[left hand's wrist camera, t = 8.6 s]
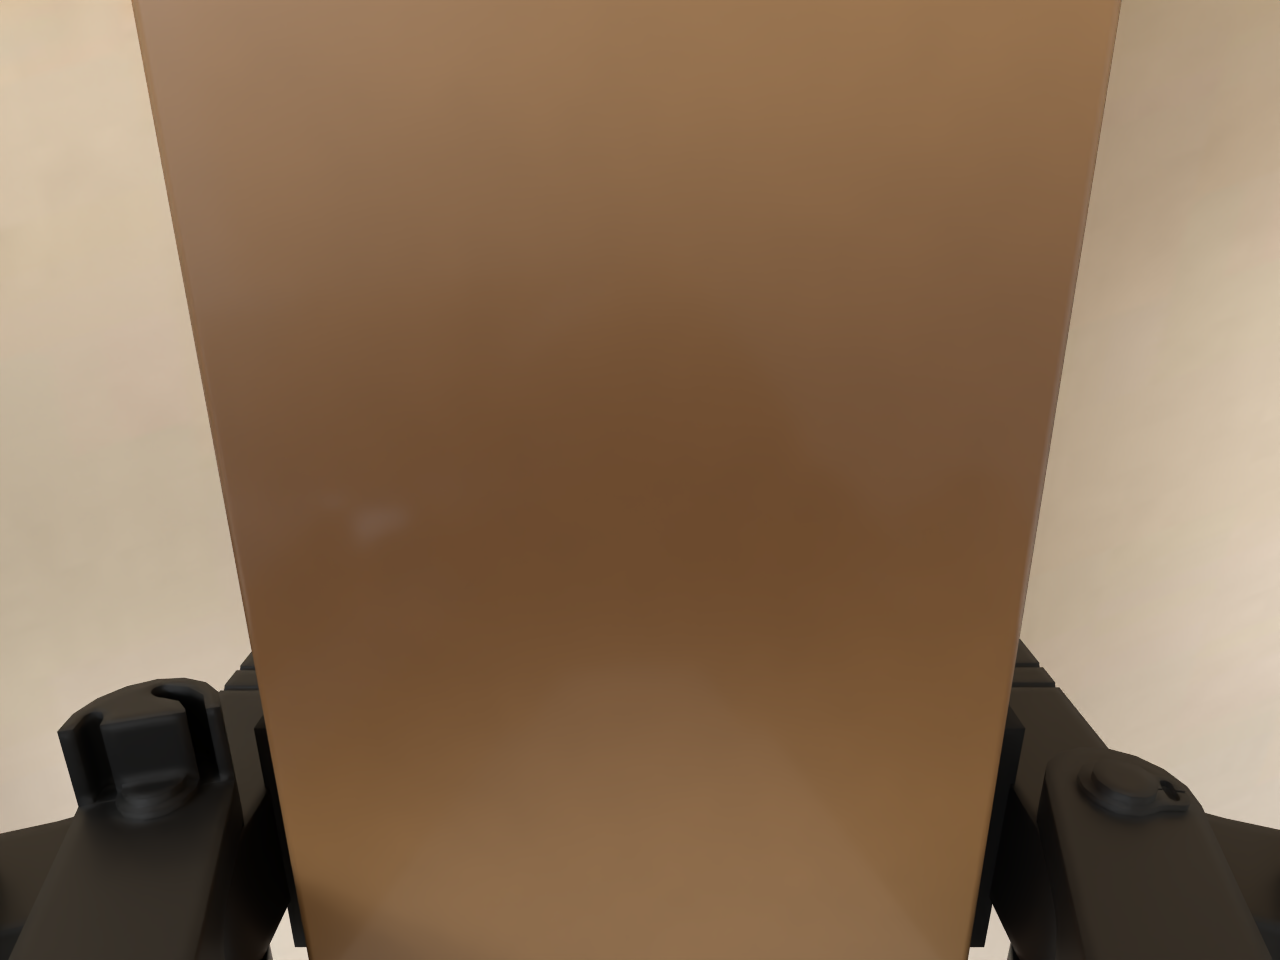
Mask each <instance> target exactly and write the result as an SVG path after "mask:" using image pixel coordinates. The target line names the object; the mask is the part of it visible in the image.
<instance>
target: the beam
mask: <svg viewBox="0 0 1280 960" xmlns="http://www.w3.org/2000/svg"><path fill="white" fill-rule="evenodd" d="M132 6H133V11H134V17H135V22H136V28H137V33H138V38H139V44H140V49H141V55H142V60H143V65H144V71H145V76H146V82H147V87H148V92H149V98H150V103H151V109H152V114H153V119H154V125H155V130H156V136H157V141H158V146H159V152H160V157H161V163H162V168H163V173H164V179H165V184H166V190H167V195H168V201H169V206H170V211H171V217H172V222H173V228H174V233H175V238H176V244H177V249H178V255H179V260H180V265H181V271H182V276H183V282H184V287H185V292H186V298H187V303H188V309H189V314H190V319H191V325H192V330H193V336H194V341H195V346H196V352H197V357H198V363H199V368H200V374H201V379H202V384H203V390H204V395H205V401H206V406H207V411H208V417H209V422H210V428H211V433H212V438H213V444H214V449H215V455H216V460H217V465H218V471H219V476H220V482H221V487H222V492H223V498H224V503H225V509H226V514H227V519H228V525H229V530H230V536H231V541H232V547H233V552H234V557H235V563H236V568H237V574H238V579H239V584H240V590H241V595H242V601H243V606H244V611H245V617H246V622H247V628H248V633H249V638H250V644H251V649H252V655H253V660H254V665H255V671H256V676H257V682H258V687H259V692H260V698H261V703H262V709H263V714H264V720H265V725H266V730H267V736H268V741H269V747H270V752H271V757H272V763H273V768H274V774H275V779H276V784H277V790H278V795H279V801H280V806H281V811H282V817H283V822H284V828H285V833H286V838H287V844H288V849H289V855H290V860H291V866H292V871H293V876H294V882H295V887H296V893H297V898H298V903H299V909H300V914H301V920H302V925H303V930H304V936H305V941H306V947H307V952H308V957H309V960H968V955H969V949H970V943H971V936H972V930H973V924H974V918H975V911H976V905H977V899H978V893H979V886H980V880H981V874H982V868H983V861H984V855H985V849H986V843H987V836H988V830H989V824H990V818H991V812H992V805H993V799H994V793H995V787H996V780H997V774H998V768H999V762H1000V755H1001V749H1002V743H1003V737H1004V730H1005V724H1006V718H1007V712H1008V705H1009V699H1010V693H1011V687H1012V680H1013V674H1014V668H1015V662H1016V656H1017V649H1018V643H1019V637H1020V631H1021V624H1022V618H1023V612H1024V606H1025V599H1026V593H1027V587H1028V581H1029V574H1030V568H1031V562H1032V556H1033V549H1034V543H1035V537H1036V531H1037V524H1038V518H1039V512H1040V506H1041V500H1042V493H1043V487H1044V481H1045V475H1046V468H1047V462H1048V456H1049V450H1050V443H1051V437H1052V431H1053V425H1054V418H1055V412H1056V406H1057V400H1058V393H1059V387H1060V381H1061V375H1062V369H1063V362H1064V356H1065V350H1066V344H1067V337H1068V331H1069V325H1070V319H1071V312H1072V306H1073V300H1074V294H1075V287H1076V281H1077V275H1078V269H1079V262H1080V256H1081V250H1082V244H1083V237H1084V231H1085V225H1086V219H1087V213H1088V206H1089V200H1090V194H1091V188H1092V181H1093V175H1094V169H1095V163H1096V156H1097V150H1098V144H1099V138H1100V131H1101V125H1102V119H1103V113H1104V106H1105V100H1106V94H1107V88H1108V81H1109V75H1110V69H1111V63H1112V57H1113V50H1114V44H1115V38H1116V32H1117V25H1118V19H1119V13H1120V7H1121V0H132Z"/></svg>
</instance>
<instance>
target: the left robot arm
mask: <svg viewBox="0 0 1280 960" xmlns="http://www.w3.org/2000/svg"><path fill="white" fill-rule="evenodd" d="M57 733H58V736H59V740H60V743H61V747H62V750H63V754H64V757H65V761H66V764H67V768H68V771H69V775H70V778H71V782H72V785H73V789H74V792H75V796H76V799H77V803H78V806H79V807H78V809H77V812H76V814H75V816H74V817H72V818H68V819H65V820H61V821H57V822H53V823H48V824H43V825H39V826H34V827H29V828H25V829H20V830H15V831H11V832H6V833H1V834H0V960H273V958H272V953H271V948H270V942H271V940H272V938H273V936H274V934H275V932H276V930H277V927H278V925H279V923H280V921H281V919H282V917H283V915H284V913H285V911H286V909H287V907H288V913H289V918H290V923H291V928H292V934H293V939H294V944H295V947H306V941H305V936H304V930H303V925H302V920H301V914H300V909H299V903H298V898H297V893H296V887H295V882H294V876H293V871H292V866H291V860H290V855H289V849H288V844H287V838H286V833H285V828H284V822H283V817H282V811H281V806H280V801H279V795H278V790H277V784H276V779H275V774H274V768H273V763H272V757H271V752H270V747H269V741H268V736H267V730H266V725H265V720H264V714H263V709H262V703H261V698H260V692H259V687H258V682H257V676H256V671H255V665H254V660H253V655H252V652H251V653H250V654H249V656H248V657H247V658H246V659H245V661H244V662H243V663H242V664H241V666H240V670H237V671H236V672H235V673H234V674H233V676H232V677H231V678H230V679H229V681H228V682H227V683H226V684H225V689H224V691H220V692H218V691H216V690H215V689H214V688H213V687H211V686H210V685H209V684H208V683H206V682H202V681H197V680H193V679H188V678H172V679H156V680H152V681H148V682H143V683H139V684H135V685H130V686H126V687H124V688H122V689H119V690H117V691H114V692H112V693H109V694H107V695H105V696H102V697H100V698H97V699H96V700H94V701H93V702H91V703H90V704H88V705H86V706H85V707H83V708H82V709H80V710H79V711H77V712H76V713H74V714H73V715H72V716H71V717H70V718H69V719H68V720H67V721H66V723H65V724H64V725H63V726H62V727H61V728H60V729H59V730H58V732H57ZM992 904H993V906H994V908H995V910H996V912H997V914H998V917H999V919H1000V921H1001V923H1002V925H1003V927H1004V929H1005V931H1006V933H1007V935H1008V937H1009V940H1010V942H1011V943H1010V948H1009V953H1008V958H1007V960H1280V830H1278V829H1273V828H1268V827H1263V826H1259V825H1254V824H1249V823H1245V822H1240V821H1235V820H1230V819H1226V818H1221V817H1218V816H1214V815H1211V814H1207V813H1205V812H1204V810H1203V808H1202V806H1201V804H1200V803H1199V802H1198V800H1197V799H1196V798H1195V796H1194V795H1193V794H1192V792H1191V791H1190V790H1189V788H1188V787H1187V786H1186V785H1184V784H1183V783H1182V782H1180V781H1179V780H1178V779H1176V778H1175V777H1174V776H1172V775H1171V774H1170V773H1168V772H1167V771H1166V770H1164V769H1162V768H1160V767H1158V766H1156V765H1154V764H1152V763H1149V762H1147V761H1145V760H1143V759H1141V758H1139V757H1137V756H1134V755H1130V754H1126V753H1122V752H1119V751H1115V750H1111V749H1108V747H1107V746H1106V745H1105V744H1104V742H1103V741H1102V740H1101V739H1100V738H1099V736H1098V735H1097V734H1096V733H1095V731H1094V730H1093V729H1092V728H1091V726H1090V725H1089V724H1088V723H1087V721H1086V720H1085V719H1084V718H1083V716H1082V715H1081V714H1080V713H1079V712H1078V710H1077V709H1076V708H1075V707H1074V705H1073V704H1072V703H1071V702H1070V700H1069V699H1068V698H1067V697H1066V695H1065V694H1064V693H1063V692H1062V690H1061V689H1060V688H1059V687H1055V682H1054V681H1053V679H1052V678H1051V677H1050V676H1049V674H1048V673H1047V672H1046V671H1045V669H1044V668H1043V667H1039V662H1038V661H1037V659H1036V658H1035V657H1034V656H1033V654H1032V653H1031V652H1030V651H1029V650H1028V648H1027V647H1026V646H1025V645H1024V643H1023V642H1022V641H1021V640H1020V639H1019V643H1018V649H1017V656H1016V662H1015V668H1014V674H1013V680H1012V687H1011V693H1010V699H1009V705H1008V712H1007V718H1006V724H1005V730H1004V737H1003V743H1002V749H1001V755H1000V762H999V768H998V774H997V780H996V787H995V793H994V799H993V805H992V812H991V818H990V824H989V830H988V836H987V843H986V849H985V855H984V861H983V868H982V874H981V880H980V886H979V893H978V899H977V905H976V911H975V918H974V924H973V930H972V936H971V943H970V947H984V945H985V940H986V935H987V929H988V924H989V919H990V914H991V908H992Z"/></svg>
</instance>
